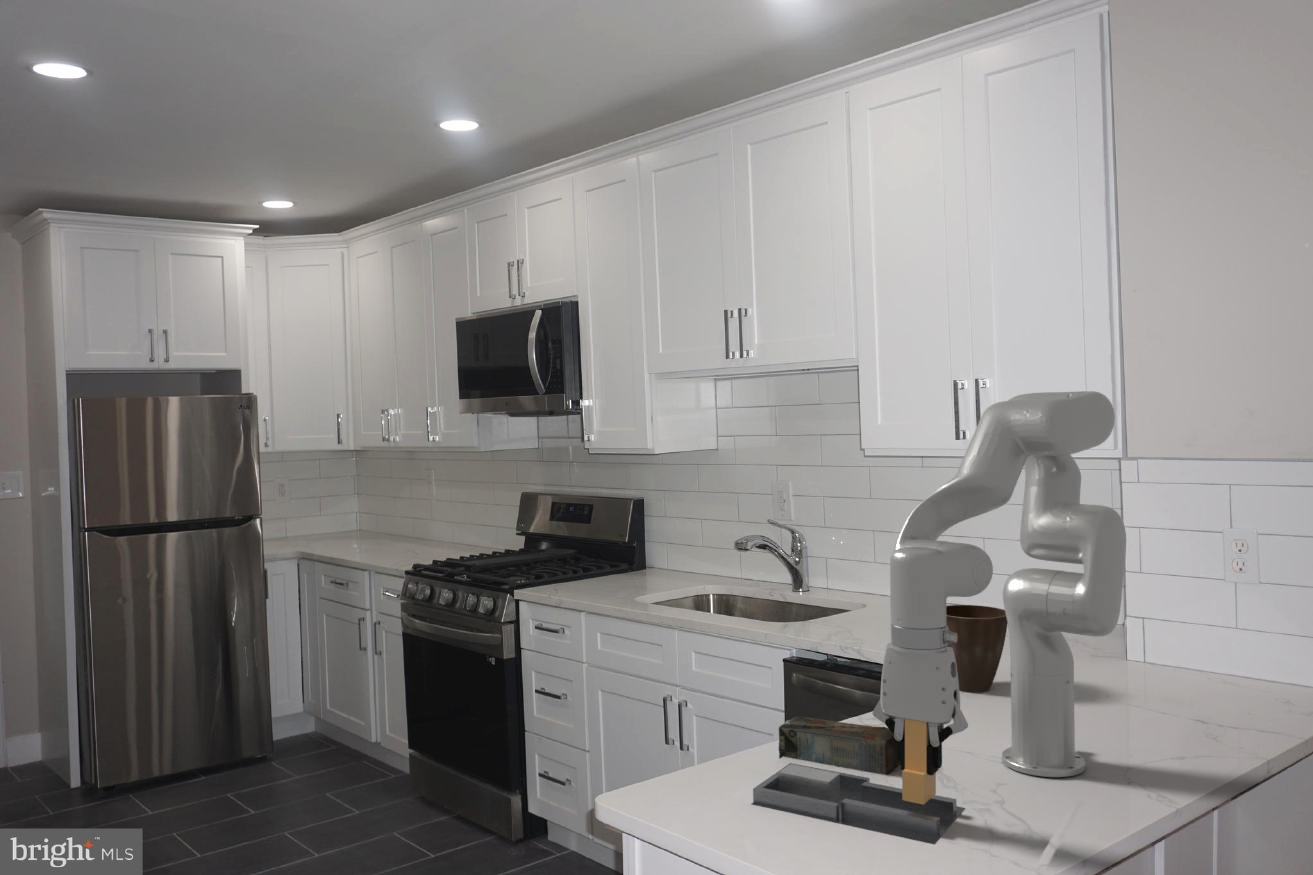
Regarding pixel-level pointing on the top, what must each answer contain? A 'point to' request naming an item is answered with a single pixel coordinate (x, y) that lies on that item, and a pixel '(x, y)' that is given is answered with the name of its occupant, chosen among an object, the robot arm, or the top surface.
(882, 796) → the slot board
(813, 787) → the grey cube
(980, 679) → the plant pot
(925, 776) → the tan stepped beam
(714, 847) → the top surface
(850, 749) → the beverage carton
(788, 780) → the chip
